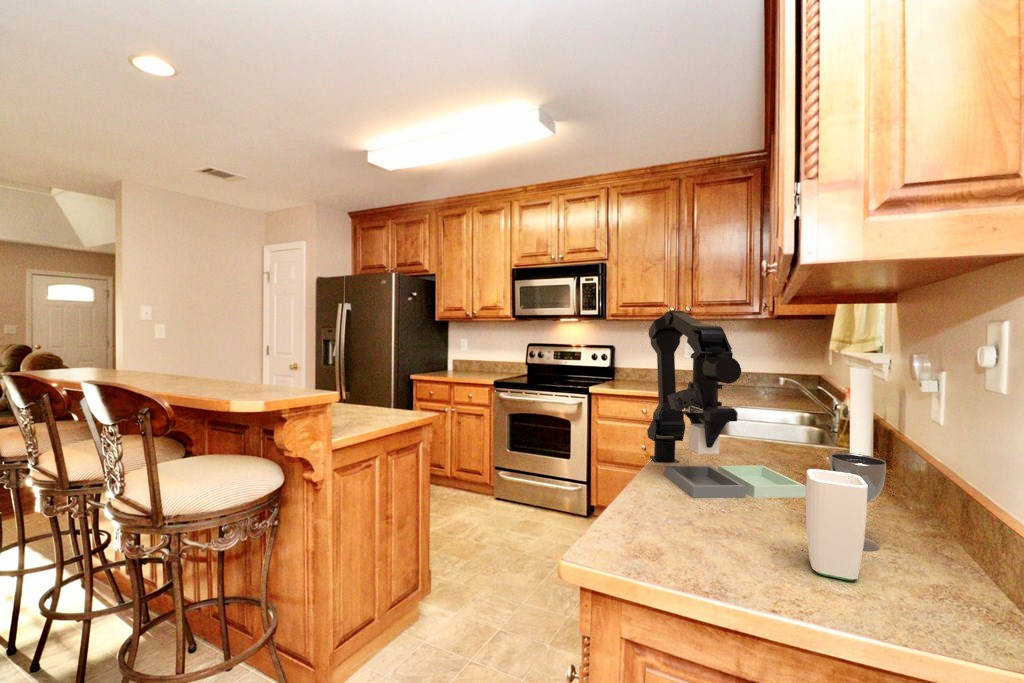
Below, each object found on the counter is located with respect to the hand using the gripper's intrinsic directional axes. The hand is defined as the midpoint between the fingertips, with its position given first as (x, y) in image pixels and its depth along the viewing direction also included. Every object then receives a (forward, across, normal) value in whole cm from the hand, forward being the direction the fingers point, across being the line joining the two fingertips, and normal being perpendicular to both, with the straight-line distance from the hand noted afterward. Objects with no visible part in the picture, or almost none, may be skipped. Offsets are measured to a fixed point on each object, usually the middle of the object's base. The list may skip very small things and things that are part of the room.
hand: (703, 444), depth 112 cm
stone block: (+2, 0, 0) cm, 2 cm away
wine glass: (+11, +29, +14) cm, 34 cm away
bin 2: (+10, 0, +14) cm, 17 cm away
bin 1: (+10, 0, 0) cm, 10 cm away
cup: (+11, +39, +2) cm, 40 cm away
